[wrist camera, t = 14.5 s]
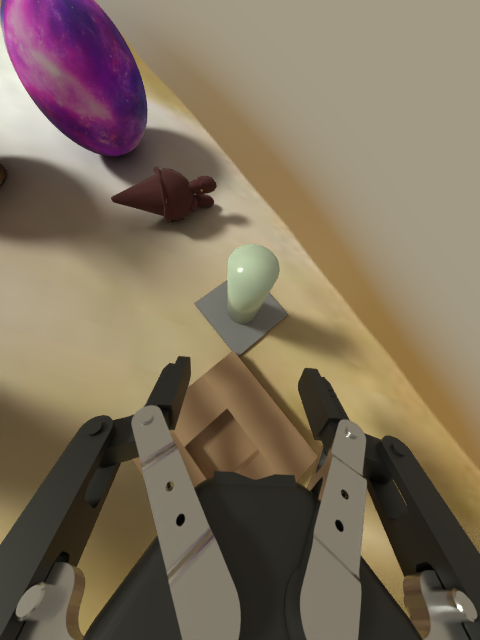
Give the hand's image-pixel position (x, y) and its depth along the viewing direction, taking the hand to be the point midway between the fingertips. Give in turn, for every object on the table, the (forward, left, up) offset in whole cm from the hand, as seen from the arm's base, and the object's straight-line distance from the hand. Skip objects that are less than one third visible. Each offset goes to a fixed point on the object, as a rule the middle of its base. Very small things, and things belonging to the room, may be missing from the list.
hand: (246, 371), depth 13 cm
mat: (+6, +6, -13) cm, 15 cm away
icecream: (+8, +26, -13) cm, 30 cm away
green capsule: (+6, +6, -12) cm, 15 cm away
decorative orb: (+8, +44, -13) cm, 47 cm away
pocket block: (-7, -6, -13) cm, 16 cm away
